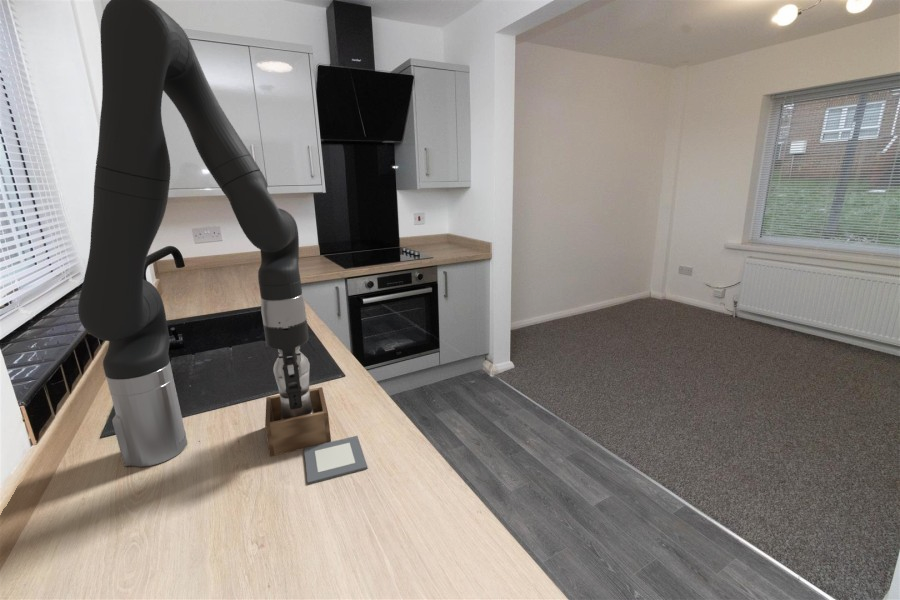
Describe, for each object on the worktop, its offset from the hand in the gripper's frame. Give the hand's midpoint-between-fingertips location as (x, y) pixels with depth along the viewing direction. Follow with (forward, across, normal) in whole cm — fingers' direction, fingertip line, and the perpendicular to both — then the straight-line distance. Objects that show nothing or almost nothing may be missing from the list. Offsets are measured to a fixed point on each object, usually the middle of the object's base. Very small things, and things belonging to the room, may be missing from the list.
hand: (295, 399), depth 81 cm
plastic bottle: (+8, 0, 0) cm, 8 cm away
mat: (+8, +11, +6) cm, 14 cm away
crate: (+8, 0, 0) cm, 8 cm away
